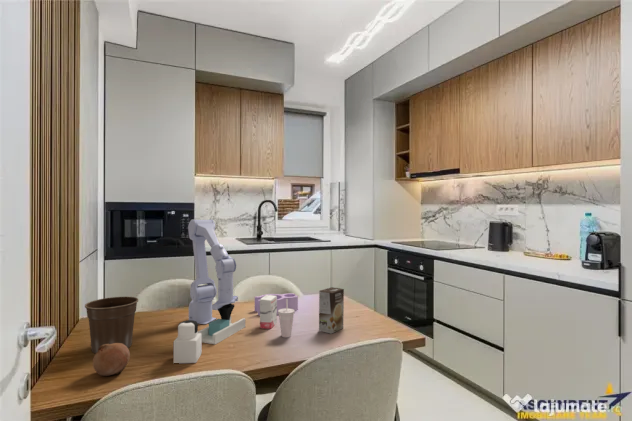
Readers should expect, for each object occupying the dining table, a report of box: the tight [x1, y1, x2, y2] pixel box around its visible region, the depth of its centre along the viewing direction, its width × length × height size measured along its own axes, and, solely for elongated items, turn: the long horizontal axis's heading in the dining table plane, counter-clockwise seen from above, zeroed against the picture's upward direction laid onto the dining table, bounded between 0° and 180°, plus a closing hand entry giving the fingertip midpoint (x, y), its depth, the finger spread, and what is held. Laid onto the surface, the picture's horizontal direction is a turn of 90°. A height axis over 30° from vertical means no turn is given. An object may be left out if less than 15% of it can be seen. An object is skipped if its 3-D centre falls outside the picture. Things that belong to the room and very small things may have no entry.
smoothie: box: [278, 299, 296, 338], centre depth 134 cm, size 6×6×14 cm
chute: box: [198, 315, 246, 345], centre depth 136 cm, size 20×8×4 cm, turn 160°
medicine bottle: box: [172, 319, 203, 364], centre depth 113 cm, size 7×7×12 cm
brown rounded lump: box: [92, 343, 131, 377], centre depth 103 cm, size 10×9×10 cm
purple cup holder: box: [254, 292, 299, 316], centre depth 167 cm, size 20×12×7 cm, turn 113°
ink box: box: [259, 294, 278, 330], centre depth 145 cm, size 9×5×12 cm, turn 168°
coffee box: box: [318, 287, 345, 335], centre depth 141 cm, size 9×6×16 cm
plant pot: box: [84, 296, 139, 354], centre depth 122 cm, size 16×16×16 cm
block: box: [208, 318, 229, 336], centre depth 134 cm, size 6×5×4 cm
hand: (225, 323), depth 137 cm, fingers closed
